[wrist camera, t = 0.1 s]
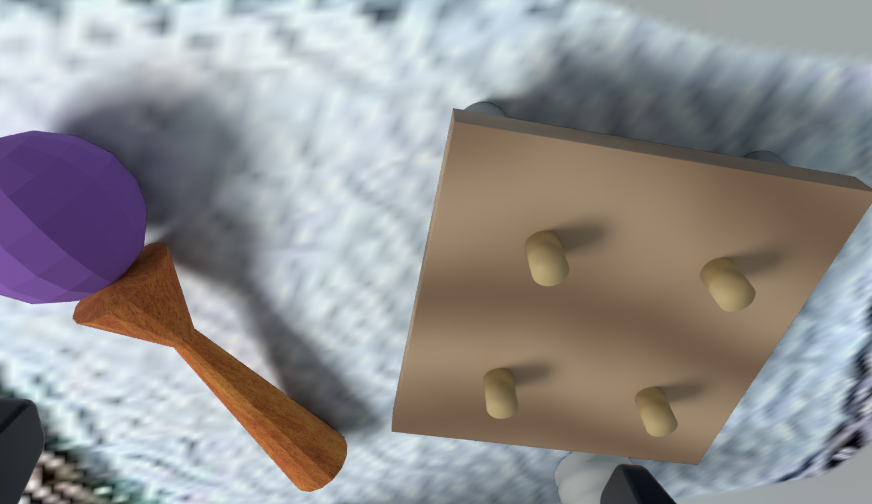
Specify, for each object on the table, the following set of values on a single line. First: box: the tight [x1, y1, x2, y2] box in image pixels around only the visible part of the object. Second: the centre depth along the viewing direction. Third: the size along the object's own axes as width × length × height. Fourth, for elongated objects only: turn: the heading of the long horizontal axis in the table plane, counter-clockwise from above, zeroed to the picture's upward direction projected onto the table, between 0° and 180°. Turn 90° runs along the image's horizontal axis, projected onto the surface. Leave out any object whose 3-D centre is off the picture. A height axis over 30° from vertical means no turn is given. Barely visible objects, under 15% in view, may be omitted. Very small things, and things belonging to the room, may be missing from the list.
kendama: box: [0, 131, 347, 492], centre depth 24 cm, size 6×6×20 cm
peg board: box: [392, 102, 872, 465], centre depth 23 cm, size 14×14×6 cm
